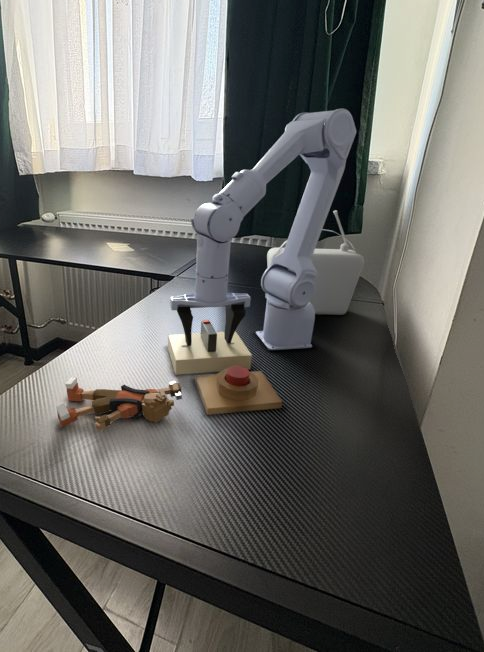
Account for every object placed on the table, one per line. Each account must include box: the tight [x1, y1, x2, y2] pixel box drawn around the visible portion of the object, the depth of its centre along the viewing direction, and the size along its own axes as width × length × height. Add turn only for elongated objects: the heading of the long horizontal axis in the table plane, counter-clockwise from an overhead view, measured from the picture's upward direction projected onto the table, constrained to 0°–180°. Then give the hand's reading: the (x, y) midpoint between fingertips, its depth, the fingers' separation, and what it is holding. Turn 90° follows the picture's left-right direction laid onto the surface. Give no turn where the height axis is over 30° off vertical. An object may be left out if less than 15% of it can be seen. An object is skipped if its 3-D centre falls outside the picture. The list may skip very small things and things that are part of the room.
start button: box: [226, 366, 250, 386], centre depth 61 cm, size 4×4×2 cm
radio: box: [266, 209, 365, 316], centre depth 92 cm, size 22×8×25 cm, turn 88°
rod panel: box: [167, 330, 253, 376], centre depth 72 cm, size 14×10×3 cm
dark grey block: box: [200, 319, 217, 352], centre depth 71 cm, size 6×2×4 cm, turn 9°
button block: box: [194, 369, 283, 416], centre depth 61 cm, size 12×9×3 cm
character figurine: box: [56, 376, 183, 432], centre depth 56 cm, size 12×5×18 cm
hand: (208, 342), depth 71 cm, fingers open, 7 cm apart
